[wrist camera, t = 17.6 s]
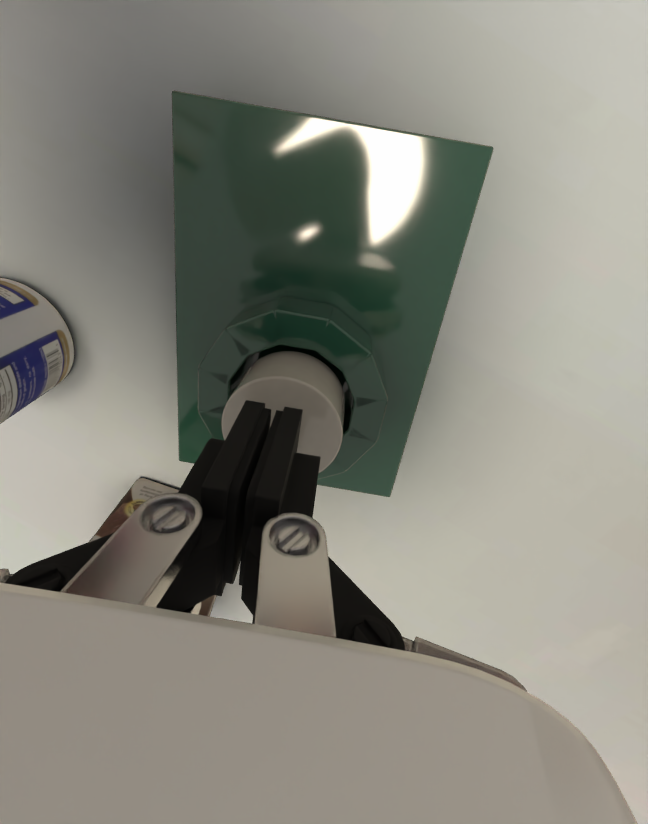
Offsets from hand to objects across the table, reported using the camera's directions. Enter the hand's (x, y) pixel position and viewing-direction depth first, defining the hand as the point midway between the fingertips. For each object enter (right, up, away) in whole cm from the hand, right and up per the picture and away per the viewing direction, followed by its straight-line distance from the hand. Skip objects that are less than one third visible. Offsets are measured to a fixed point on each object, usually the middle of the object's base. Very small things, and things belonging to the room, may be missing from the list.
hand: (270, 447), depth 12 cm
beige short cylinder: (0, +2, +3) cm, 4 cm away
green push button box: (+1, +5, +5) cm, 7 cm away
